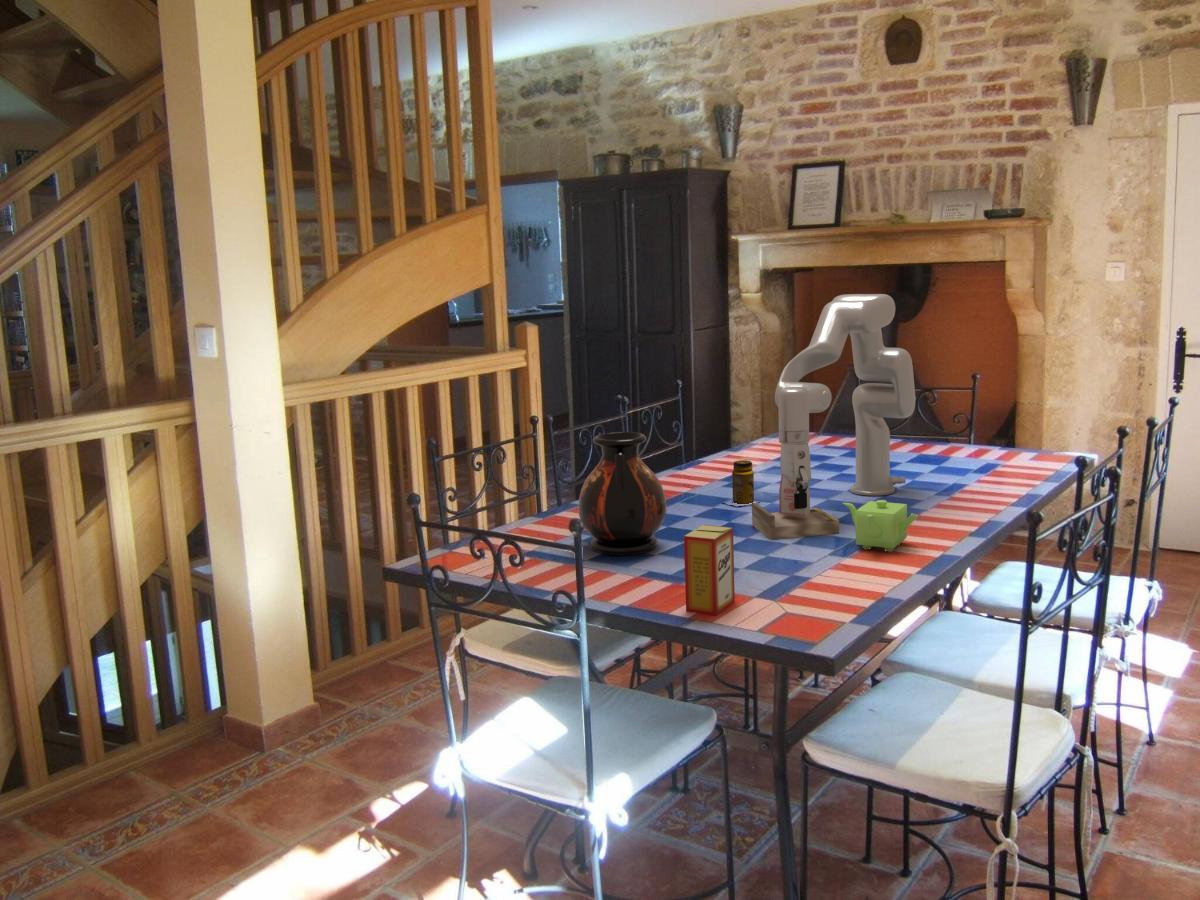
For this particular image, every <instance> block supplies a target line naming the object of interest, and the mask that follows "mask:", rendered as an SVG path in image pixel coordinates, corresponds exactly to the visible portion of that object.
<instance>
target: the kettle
mask: <svg viewBox="0 0 1200 900" xmlns="http://www.w3.org/2000/svg"><path fill="white" fill-rule="evenodd" d="M842 505H844V506H846V507H847V508H848V510H849V511H850V513H851V514H850V515H851V517H852V522H853V525H855V545H859V546H862V547H861V549H862V548H864V549H863V550H870V549H869V548H871V549H872V548H873V547H875V548H876V547H877V548H883V549H884V550H886V551H894V552H895V548H896V547H898V546H897V545H900V544H901V543H902V542H903V541H904V540H906V539H907V537H908V536H907V535H908V532H907V531H908V528H909V527H910V526H911V525H912V524H913V522H914V521H915V520H916V519H917V518H918V514H915V513H912V512H911V514H910V515H909V516H908V504H906V503H896V502H889V501H887V500H885V499H877V500H875V501H873V500H870V501H868V502H865V504H863V505H862V506H861V507H859V508H858V509H857V508H856V506H855V505H854V504H852V503H849V502H842ZM865 548H866V549H865ZM886 551H885V552H886Z"/></svg>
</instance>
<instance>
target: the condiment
mask: <svg viewBox="0 0 1200 900" xmlns="http://www.w3.org/2000/svg"><path fill="white" fill-rule="evenodd" d="M732 465H733V467H732V468H733V470H732V473H731V477H732V478H731V479H732V484H731V485H732V486H731V487H732V488H731V489H732V500H733V502H734V503H737V504H749V503H753V502H754V501H755V489H754V488H755V486H754V485H755V481H754V480H755V479H754V475H755V473H754V470H753V463H752V461H751V460H746V459H745V460H743V459H742V460H734V461H733V464H732Z"/></svg>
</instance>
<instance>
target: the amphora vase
mask: <svg viewBox="0 0 1200 900" xmlns="http://www.w3.org/2000/svg"><path fill="white" fill-rule="evenodd" d="M592 441H593V443H594V444H596V445H597V446H600V447H601V453H602V456H601V458H600V459H599V462H598V463H597V465H596V466H595V467H594V469H593V470H592V471H590V473H589V474H588V475H587V477H586V479H585V480H584V483H583V484H582V487H581V489H580V493H579V500H578V506H577V507H578V515H579V519H580V521H582V522H583V524H582V526H583V525H584V526H583V528H584V529H585V530H586V531H587V532H588V533H589V535H590V536H592V539H591V541H590V547H591V549H592V550H594V551H595V552H597V553H599V552H600V553H599V554H602V555H609V556H633V555H634V556H635V555H639V554H643V553H646V552H649V551H651V550H653V549H655V548H656V546H657V544H658V539H657V538H656V536H655V534H656V533H657V532H658V531H659V530H660V528H661V526H662V525H663V523H664V521H665V518H666V515H667V500H666V494H665V491H664V489H663V484H662V483H661V482H660V480H659V478H658V477H657V475H656V473H655V472H654V471H652V470H651V468H649V467H648V465H646V463H645V462H644V461H643V460H642V458H641V457H640V455H639V448H640V447H639V446H640V445H641V444H642V443H644V442H646V441H647V436H645V434H643V433H640V432H633V431H632V432H631V431H617V432H607V433H602V434H599V435H596V436H594V437H593V439H592ZM582 522H581V523H582Z"/></svg>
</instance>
